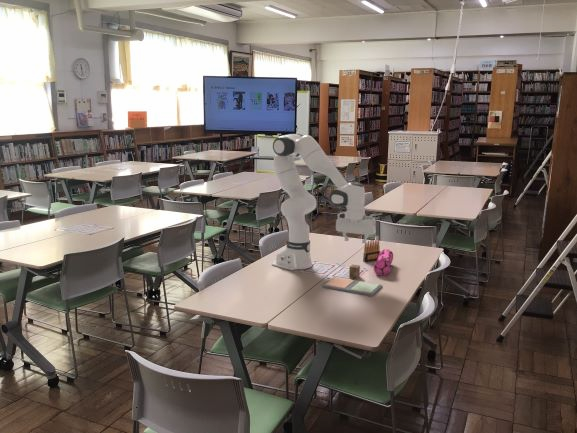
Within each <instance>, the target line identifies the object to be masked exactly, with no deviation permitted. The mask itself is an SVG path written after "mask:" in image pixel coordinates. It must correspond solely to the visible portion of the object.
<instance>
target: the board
mask: <svg viewBox="0 0 577 433" xmlns="http://www.w3.org/2000/svg"><path fill="white" fill-rule="evenodd" d="M322 288H324V289H330V290H333V291H334V290H335V291H341V292H346V293H352V294H357V295H363V296H367V297H368V296H369V297H373V296H374V295H375V294H376V293H377V292H379V291H380V289H381V288H383V285H382V284H379V283H373V282H368V281H367V282H366V281H362V280H357V279H351V278H343V277H338V276H337V277H336V276H334V277H333V278H331V279H330V280H328V281H326V283H324V284H323V285H322Z"/></svg>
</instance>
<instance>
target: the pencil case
mask: <svg viewBox="0 0 577 433" xmlns="http://www.w3.org/2000/svg"><path fill="white" fill-rule="evenodd" d="M393 260H394V253H393V252H392V250H390V249H388V248H385V249H382V250H380V253H379V255H378V260H375V262H374V265H373V271H374V273H375V274H376V275H378V276H380V277H381V276H386V275H388V274H389V273H390V271H391V269H394V266H393V265H394V264H392V262H393Z"/></svg>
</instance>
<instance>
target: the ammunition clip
mask: <svg viewBox="0 0 577 433" xmlns="http://www.w3.org/2000/svg"><path fill="white" fill-rule="evenodd" d="M380 251H381V250H380V239H379V238H378V239H375V240H370V241H369V240H368V241H366V243H364V249H363V258H362V259H363V261H362V262H364V263H370V262H374V261H375V262H376V261H377V260H378V255H379V253H380Z"/></svg>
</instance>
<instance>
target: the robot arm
mask: <svg viewBox="0 0 577 433" xmlns="http://www.w3.org/2000/svg"><path fill="white" fill-rule="evenodd" d="M272 149H273V152H274V153H275V155H274V156H273V163H274V164H273V165H274V168H275V172H276V176H277V178H278V182H279V184H280V186H281V189H282V190H283V191H284V192H285V193H286V194H288V196H289V197H288V198H287V199H285V200H284V201H283V202H282V203H281V205H280V210H281V214H282V215H283V216H284V217H285V219H286V222H287V225H288V237H289V238H288V240H287V241H286V242H284V243H285V244H284V245H286V246H285V247H284V248H282V249H281V250H279V251H278V253H277V254H276V257H275V258H276V259H274V260H273V261H272V264H271V265H272V266H275V267H278V268H282V269H285V270H290V271H296V270H305V269H306V270H307V269H310V268H312V266H313V262H312V259H311V258H312V257H311V240H310V226H309V224H308V223H307V222H306V217H305V215H308V214H311V213H312V211H314V210H315V209H316V207H317V200H316V197H315V196H314V195H312V194H311V193H310V192H309V191H308V190H307V188H306V186H304V183H303V182H302V179H301V177H300V174H299V172H298V171H299V170H298V169H297V166H296V163H295V158H297V157H301V158H302V160H303V162H304V163H305V165H306V167H307V168H308V169H310V171H312V172H315V173H319V174H323V175H325V176H327V177H328V178H329V179H330V181H332V183H333V185H334V186H335V187H336V188H334V189H332V190H331V191H330V193H329V195H328V201H329V203H330V205H331V206H333V207H335V208H343V207H345V208H346V210H345V211H341V212H339V213H338V214H337V219H336V221H335V230H336V232H338V233H339V232H340V233H342V236H343V238H344V242H348V241H349V237H348V236H347V235H348V234H356V235H364V238H363V239H362V240H361V241H362V242H361V243H362V244H365V243H366V242H367V239H368V237H369V236H374V235H375V234H376V232H377V231H376V230H377V229H376V221H377V220H376V218H375V217H374V216H371V215H370V216H369V215H366V214H365V210H366V208H365V201H366V191H365V186H364V185H363V184H362V183H361V182H358V181H350V182H349V181H348V180H347V178H346V177H345V176H344V174H342V172H341V171H340V170H339V168H338V166H336V165H335V164H334V162H333V161H332V160H331V159H330V158H329V157H328V156H327V153H326V152H325V151H324V150H323V148H322V147H321V146H320V144H319V143H318V142H317V140H316V139H315V138H314V137H313V136H311V135H308V134H305V135H303V134H301V133H289V134H284V135H280V136H278V137H276V138H275V139H274V140H273V142H272ZM347 233H348V234H347Z"/></svg>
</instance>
